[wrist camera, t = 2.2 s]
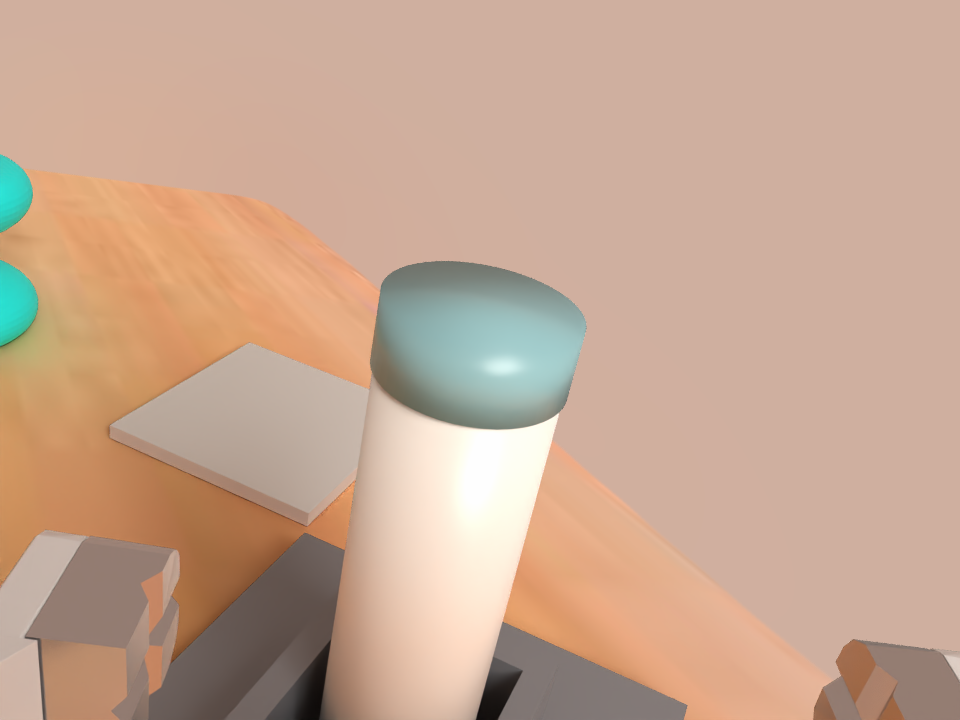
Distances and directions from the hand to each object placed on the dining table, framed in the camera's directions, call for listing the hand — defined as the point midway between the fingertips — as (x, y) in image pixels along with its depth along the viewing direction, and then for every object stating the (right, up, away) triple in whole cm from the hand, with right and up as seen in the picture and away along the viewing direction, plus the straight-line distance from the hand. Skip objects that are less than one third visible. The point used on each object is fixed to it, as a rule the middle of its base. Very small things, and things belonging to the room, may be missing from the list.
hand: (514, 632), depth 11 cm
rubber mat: (-12, -1, +39) cm, 41 cm away
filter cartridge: (-4, -11, +20) cm, 23 cm away
